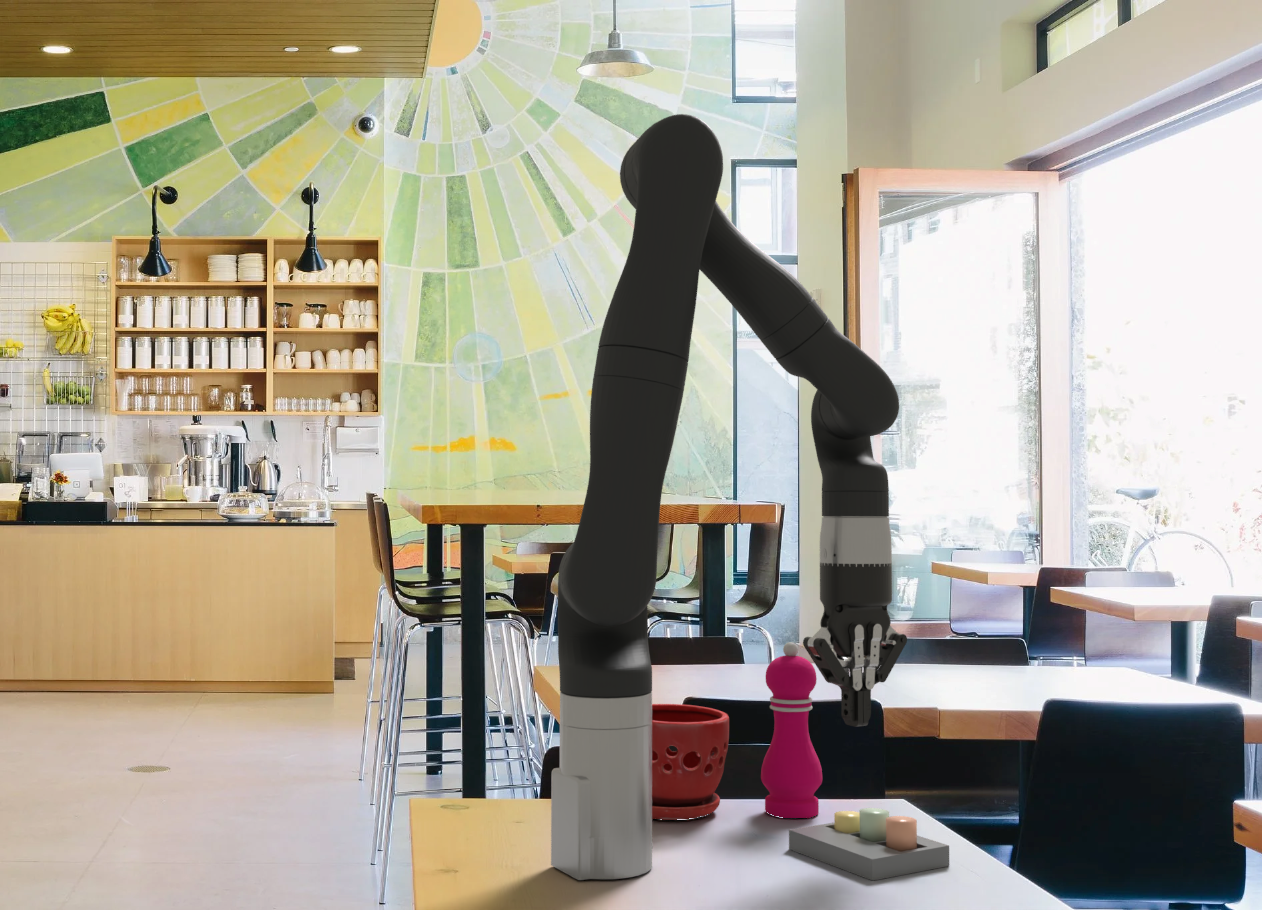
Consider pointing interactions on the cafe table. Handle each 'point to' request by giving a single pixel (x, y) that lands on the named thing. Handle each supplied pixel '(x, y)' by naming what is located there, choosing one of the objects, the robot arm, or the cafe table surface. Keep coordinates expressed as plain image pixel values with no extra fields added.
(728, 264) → the robot arm
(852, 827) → the ochre button
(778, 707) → the pepper mill
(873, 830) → the sage button
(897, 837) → the terracotta button
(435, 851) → the cafe table surface
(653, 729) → the plant pot
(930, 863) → the panel
